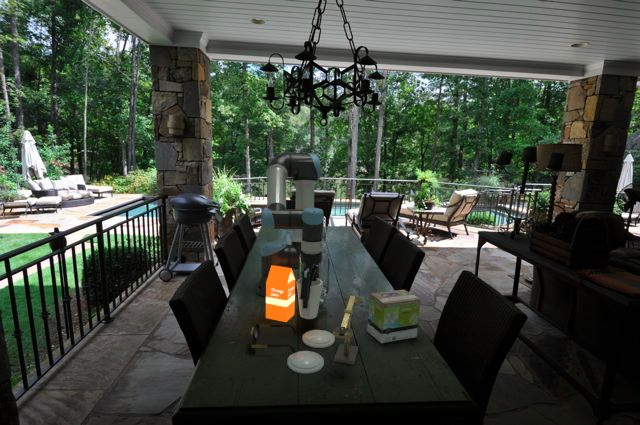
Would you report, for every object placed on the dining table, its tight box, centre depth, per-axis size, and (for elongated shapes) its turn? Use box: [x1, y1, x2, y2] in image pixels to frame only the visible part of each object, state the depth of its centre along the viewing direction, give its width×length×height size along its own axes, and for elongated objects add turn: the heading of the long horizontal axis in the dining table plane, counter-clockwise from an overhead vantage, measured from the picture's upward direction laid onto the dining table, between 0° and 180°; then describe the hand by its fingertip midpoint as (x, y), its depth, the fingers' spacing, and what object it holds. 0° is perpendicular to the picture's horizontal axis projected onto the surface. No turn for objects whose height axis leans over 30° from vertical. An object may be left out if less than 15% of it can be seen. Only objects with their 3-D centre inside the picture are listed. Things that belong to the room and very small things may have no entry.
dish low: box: [286, 350, 325, 375], centre depth 109 cm, size 11×11×1 cm
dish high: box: [302, 329, 336, 349], centre depth 124 cm, size 11×11×1 cm
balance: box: [332, 295, 363, 365], centre depth 113 cm, size 22×6×17 cm, turn 165°
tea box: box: [366, 289, 421, 344], centre depth 128 cm, size 15×10×15 cm
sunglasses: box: [249, 322, 298, 354], centre depth 120 cm, size 14×15×5 cm
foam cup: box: [296, 277, 324, 320], centre depth 133 cm, size 10×9×13 cm
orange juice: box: [265, 265, 296, 323], centre depth 139 cm, size 8×9×20 cm
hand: (309, 309), depth 134 cm, fingers closed on foam cup, 9 cm apart
